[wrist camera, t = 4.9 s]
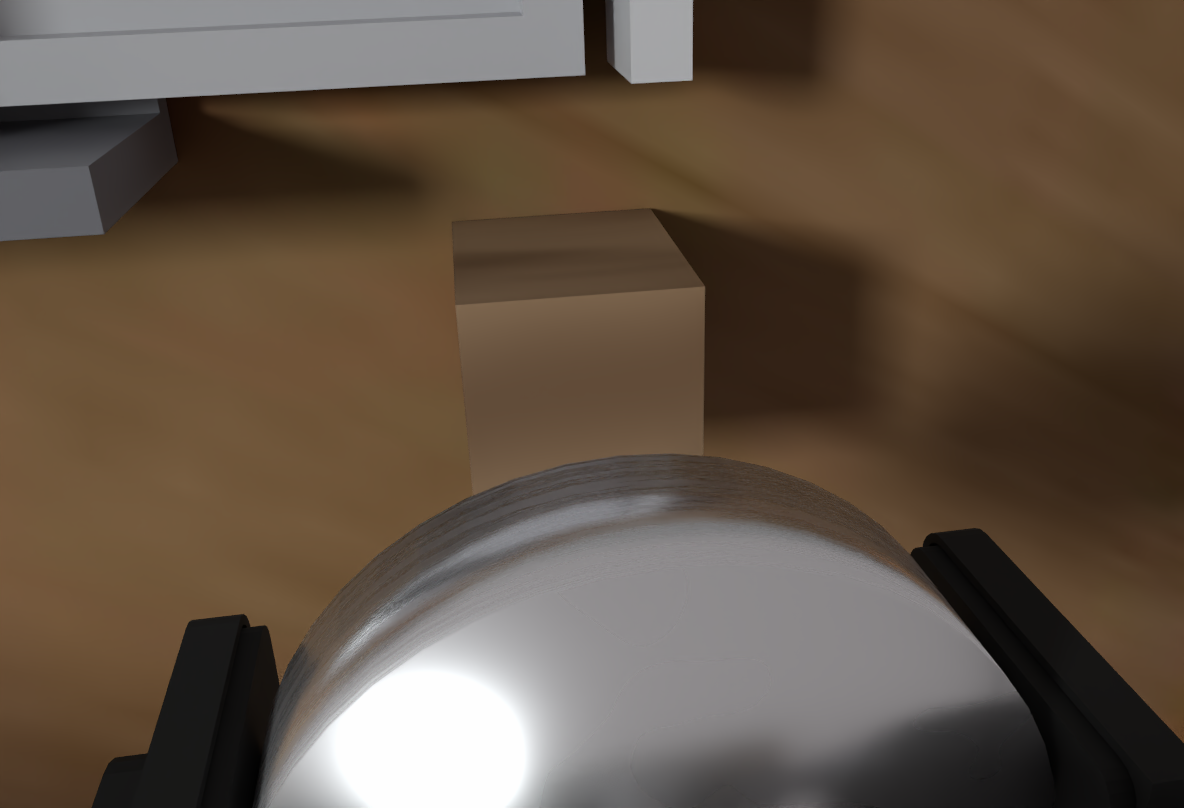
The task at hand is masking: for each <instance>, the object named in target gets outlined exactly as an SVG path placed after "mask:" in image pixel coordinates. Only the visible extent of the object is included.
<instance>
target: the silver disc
mask: <svg viewBox="0 0 1184 808" xmlns="http://www.w3.org/2000/svg"><path fill="white" fill-rule="evenodd" d="M1054 799H1055V788H1054V779H1053V775H1052V771H1051V767H1050V762H1049V758H1048V754H1047V750H1046V746H1045V743H1044V741H1043V739H1042V736H1041V734H1040V732H1039V730H1038V727H1037V725H1036V723H1035V721H1034V719H1033V716H1032V714H1031V712H1030V710H1029V708H1028V706H1027V705H1026V703H1025V702H1024V701H1023V699H1022V698H1021V696H1020V695H1019V693H1018V692H1017V691H1016V689H1015V688H1014V686H1013V685H1012V683H1011V682H1010V681H1009V679H1008V678H1007V676H1006V675H1005V674H1004V672H1003V671H1002V670H1001V668H1000V667H999V666H998V665H997V663H996V662H995V661H994V660H993V658H992V657H991V656H990V655H989V653H988V652H987V651H986V650H985V648H984V647H983V646H982V645H981V643H980V642H979V641H978V639H977V638H976V637H975V636H974V634H973V633H972V632H971V631H970V629H969V628H968V627H967V626H966V624H965V623H964V622H963V621H962V619H961V618H960V617H959V616H958V614H957V613H956V612H955V610H954V609H953V608H952V607H951V605H950V604H949V603H948V602H947V600H946V599H945V598H944V597H943V595H942V594H941V593H940V592H939V590H938V589H937V588H936V586H935V585H934V584H933V583H932V581H931V580H930V579H929V578H928V576H927V575H926V574H925V573H924V571H923V570H922V569H921V568H920V566H919V565H918V564H917V563H916V561H915V560H914V559H913V557H912V556H911V555H910V554H909V553H908V552H907V551H906V550H905V549H904V548H903V547H902V546H901V545H900V544H899V543H898V542H897V541H896V540H895V539H894V538H893V537H892V536H891V535H890V534H889V533H888V532H887V531H886V530H885V529H884V528H883V527H882V526H881V525H880V524H878V523H877V522H875V521H874V520H873V519H871V518H870V517H869V516H867V515H866V514H864V513H863V512H862V511H860V510H859V509H858V508H856V507H855V506H853V505H852V504H851V503H849V502H847V501H846V500H844V499H842V498H840V497H838V496H836V495H834V494H832V493H830V492H828V491H826V490H824V489H823V488H821V487H819V486H817V485H815V484H813V483H811V482H808V481H805V480H803V479H800V478H797V477H794V476H791V475H788V474H786V473H783V472H780V471H777V470H774V469H771V468H768V467H764V466H760V465H755V464H750V463H745V462H740V461H735V460H731V459H726V458H721V457H710V456H697V455H684V454H671V453H668V454H645V455H622V456H613V457H607V458H600V459H594V460H588V461H582V462H576V463H570V464H564V465H561V466H557V467H554V468H550V469H547V470H543V471H540V472H536V473H533V474H529V475H526V476H522V477H519V478H515V479H512V480H510V481H507V482H505V483H503V484H500V485H498V486H495V487H493V488H491V489H488V490H486V491H483V492H481V493H478V494H476V495H474V496H471V497H469V498H466V499H464V500H462V501H461V502H459V503H457V504H455V505H453V506H452V507H450V508H448V509H446V510H444V511H443V512H441V513H439V514H437V515H435V516H434V517H432V518H430V519H428V520H427V521H425V522H423V523H421V524H419V525H418V526H416V527H415V528H414V529H412V530H411V531H410V532H408V533H407V534H405V535H404V536H403V537H401V538H400V539H399V540H397V541H396V542H395V543H393V544H392V545H390V546H389V547H388V548H386V549H385V550H384V551H382V552H381V553H379V554H378V555H377V556H376V557H375V558H374V559H373V560H372V561H370V562H369V563H368V564H367V565H366V566H365V567H364V568H363V569H362V570H361V571H360V572H359V573H358V574H357V575H356V576H355V577H354V578H352V579H351V580H350V581H349V582H348V583H347V584H346V585H345V586H344V587H343V588H342V589H341V590H340V591H339V592H338V594H337V595H336V596H335V597H334V599H333V600H332V601H331V602H330V604H329V605H328V606H327V607H326V609H325V610H324V611H323V612H322V614H321V615H320V616H319V617H318V618H317V620H316V621H315V622H314V623H313V625H312V626H311V628H310V629H309V631H308V633H307V634H306V636H305V638H304V639H303V641H302V643H301V644H300V646H299V648H298V649H297V651H296V653H295V654H294V656H293V658H292V659H291V661H290V663H289V664H288V667H287V669H286V672H285V674H284V677H283V679H282V682H281V684H280V687H279V689H278V692H277V694H276V696H275V699H274V701H273V704H272V708H271V712H270V717H269V721H268V726H267V730H266V734H265V739H264V743H263V749H262V755H261V760H260V766H259V772H258V778H257V784H256V789H255V795H254V801H253V807H252V808H1053V804H1054Z"/></svg>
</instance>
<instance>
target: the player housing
mask: <svg viewBox="0 0 1184 808" xmlns="http://www.w3.org/2000/svg"><path fill="white" fill-rule="evenodd" d="M177 162H178V159H177V153H176V148H175V143H174V138H173V133H172V128H171V123H170V118H169V112H168V107H167V102H166V98H152V99H134V100H115V101H97V102H78V103H59V104H41V105H22V106H4V107H0V241H8V240H24V239H39V238H54V237H69V236H84V235H99V234H105V233H106V232H107V231H108V230H109V229H110V228H111V227H112V226H113V225H114V224H115V223H116V222H117V221H118V220H119V219H120V218H121V217H122V216H123V215H124V214H125V213H126V212H127V211H128V210H129V209H130V208H131V207H132V206H133V205H134V204H135V203H136V202H137V201H139V200H140V199H141V198H142V197H143V196H144V195H145V194H146V193H147V192H148V191H149V190H150V189H151V188H152V187H153V186H154V185H155V184H156V183H157V182H158V181H159V180H160V179H161V178H162V177H163V176H164V175H165V174H166V173H167V172H168V171H169V170H170V169H171V168H172V167H173V166H174V165H175V164H176V163H177Z"/></svg>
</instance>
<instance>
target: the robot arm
mask: <svg viewBox="0 0 1184 808" xmlns="http://www.w3.org/2000/svg"><path fill="white" fill-rule="evenodd" d="M910 555H911V556H912V557H913V559H914V560H915V561H916V563H917V564H918V565H919V566H920V568H921V569H922V570H923V571H924V573H925V574H926V575H927V576H928V578H929V579H930V580H931V581H932V583H933V584H934V585H935V586H936V588H937V589H938V590H939V592H940V593H941V594H942V595H943V597H944V598H945V599H946V600H947V602H948V603H949V604H950V605H951V607H952V608H953V609H954V610H955V612H956V613H957V614H958V616H959V617H960V618H961V619H962V621H963V622H964V623H965V624H966V626H967V627H968V628H969V629H970V631H971V632H972V633H973V634H974V636H975V637H976V638H977V639H978V641H979V642H980V643H981V645H982V646H983V647H984V648H985V650H986V651H987V652H988V653H989V655H990V656H991V657H992V658H993V660H994V661H995V662H996V663H997V665H998V666H999V667H1000V668H1001V670H1002V671H1003V672H1004V674H1005V675H1006V676H1007V678H1008V679H1009V681H1010V682H1011V683H1012V685H1013V686H1014V688H1015V689H1016V691H1017V692H1018V693H1019V695H1020V696H1021V698H1022V699H1023V701H1024V702H1025V703H1026V705H1027V706H1028V708H1029V710H1030V712H1031V714H1032V716H1033V719H1034V721H1035V723H1036V725H1037V727H1038V730H1039V732H1040V734H1041V736H1042V739H1043V741H1044V743H1045V746H1046V750H1047V754H1048V758H1049V762H1050V767H1051V771H1052V775H1053V779H1054V788H1055V799H1054V804H1053V808H1184V743H1183V742H1182V741H1181V740H1180V739H1179V738H1178V737H1177V736H1176V735H1175V734H1174V733H1173V732H1172V730H1171V729H1170V728H1169V727H1168V726H1167V725H1166V724H1165V723H1164V722H1163V721H1162V720H1161V719H1160V718H1159V717H1158V716H1157V715H1156V713H1155V712H1154V711H1153V710H1152V709H1151V708H1150V707H1149V706H1148V705H1147V704H1146V703H1145V702H1144V701H1143V700H1142V699H1141V698H1140V696H1139V695H1138V694H1137V693H1136V692H1135V691H1134V690H1133V689H1132V688H1131V687H1130V686H1129V685H1128V684H1127V683H1126V682H1125V681H1124V679H1123V678H1122V677H1121V676H1120V675H1119V674H1118V673H1117V672H1116V671H1115V670H1114V669H1113V668H1112V667H1111V666H1110V665H1109V664H1108V663H1107V661H1106V660H1105V659H1104V658H1103V657H1102V656H1101V655H1100V654H1099V653H1098V652H1097V651H1096V650H1095V649H1094V648H1093V647H1092V646H1091V644H1090V643H1089V642H1088V641H1087V640H1086V639H1085V638H1084V637H1083V636H1082V635H1081V634H1080V633H1079V632H1078V631H1077V630H1076V629H1075V627H1074V626H1073V625H1072V624H1071V623H1070V622H1069V621H1068V620H1067V619H1066V618H1065V617H1064V616H1063V615H1062V614H1061V613H1060V612H1059V610H1058V609H1057V608H1056V607H1055V606H1054V605H1053V604H1052V603H1051V602H1050V601H1049V600H1048V599H1047V598H1046V597H1045V596H1044V595H1043V593H1042V592H1041V591H1040V590H1039V589H1038V588H1037V587H1036V586H1035V585H1034V584H1033V583H1032V582H1031V581H1030V580H1029V579H1028V578H1027V576H1026V575H1025V574H1024V573H1023V572H1022V571H1021V570H1020V569H1019V568H1018V567H1017V566H1016V565H1015V564H1014V563H1013V562H1012V561H1011V559H1010V558H1009V557H1008V556H1007V555H1006V554H1005V553H1004V552H1003V551H1002V550H1001V549H1000V548H999V547H998V546H997V545H996V544H995V542H994V541H993V540H992V539H991V538H990V537H989V536H988V535H987V534H986V533H985V532H983V531H982V530H981V529H976V528H973V529H964V530H956V531H947V532H939V533H931V534H929V535H928V536H927V537H926V539H925V540H924V543H923V547H919V548H915V549H913V550H912V552H911V554H910ZM279 687H280V685H279V680H278V674H277V669H276V664H275V659H274V654H273V649H272V643H271V638H270V634H269V630H268V628H267V626H265V625H264V626H256V627H250V624H249V621H248V618H247V616H246V615H244V614H240V615H232V616H223V617H215V618H206V619H198V620H192V621H190V622H189V623H188V625H187V627H186V630H185V634H184V637H183V640H182V643H181V647H180V650H179V653H178V656H177V660H176V663H175V666H174V669H173V673H172V676H171V679H170V682H169V686H168V689H167V692H166V695H165V699H164V702H163V705H162V708H161V712H160V715H159V718H158V721H157V725H156V728H155V731H154V734H153V738H152V741H151V744H150V747H149V751H148V753H147V754H139V755H132V756H124V757H117V758H114V759H113V760H112V761H111V762H110V763H109V764H108V766H107V768H106V770H105V772H104V774H103V777H102V780H101V783H100V785H99V788H98V791H97V794H96V797H95V800H94V803H93V805H92V808H252V807H253V801H254V795H255V789H256V784H257V778H258V772H259V766H260V760H261V755H262V749H263V743H264V739H265V734H266V730H267V726H268V721H269V717H270V712H271V708H272V704H273V701H274V699H275V696H276V694H277V692H278V689H279Z"/></svg>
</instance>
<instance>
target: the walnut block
mask: <svg viewBox="0 0 1184 808" xmlns="http://www.w3.org/2000/svg"><path fill="white" fill-rule="evenodd" d="M452 235H453V259H454V282H455V306H456V316H457V327H458V338H459V349H460V360H461V371H462V382H463V392H464V403H465V414H466V425H467V436H468V447H469V457H470V468H471V479H472V490H473V496H474V495H476V494H478V493H481V492H483V491H486V490H488V489H491V488H493V487H495V486H498V485H500V484H503V483H505V482H507V481H510V480H512V479H515V478H519V477H522V476H526V475H529V474H533V473H536V472H540V471H543V470H547V469H550V468H554V467H557V466H561V465H564V464H570V463H576V462H582V461H588V460H594V459H600V458H607V457H613V456H622V455H645V454H668V453H671V454H684V455H697V456H703V435H704V341H705V286H704V284H703V283H702V281H701V280H700V279H699V277H698V276H697V274H696V273H695V271H694V270H693V269H692V267H691V266H690V264H689V263H688V262H687V260H686V259H685V257H684V256H683V254H682V253H681V252H680V250H679V249H678V247H677V246H676V244H675V243H674V242H673V240H672V239H671V237H670V236H669V234H668V233H667V232H666V230H665V229H664V227H663V226H662V224H661V223H660V222H659V220H658V219H657V217H656V216H655V214H654V213H653V212H652V210H651V209H635V210H620V211H605V212H590V213H575V214H560V215H545V216H530V217H515V218H501V219H486V220H471V221H456V222H452Z"/></svg>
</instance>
